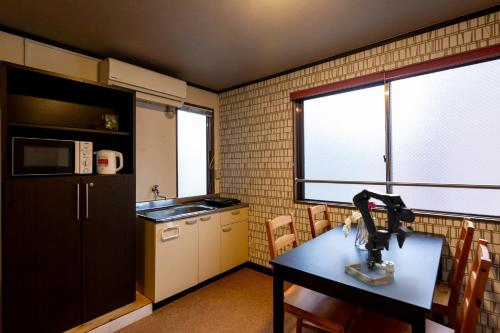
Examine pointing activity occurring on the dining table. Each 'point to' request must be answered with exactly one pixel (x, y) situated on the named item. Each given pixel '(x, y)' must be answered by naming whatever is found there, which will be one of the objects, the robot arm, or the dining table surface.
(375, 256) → the robot arm
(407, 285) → the dining table surface
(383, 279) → the carrier nest
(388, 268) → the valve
